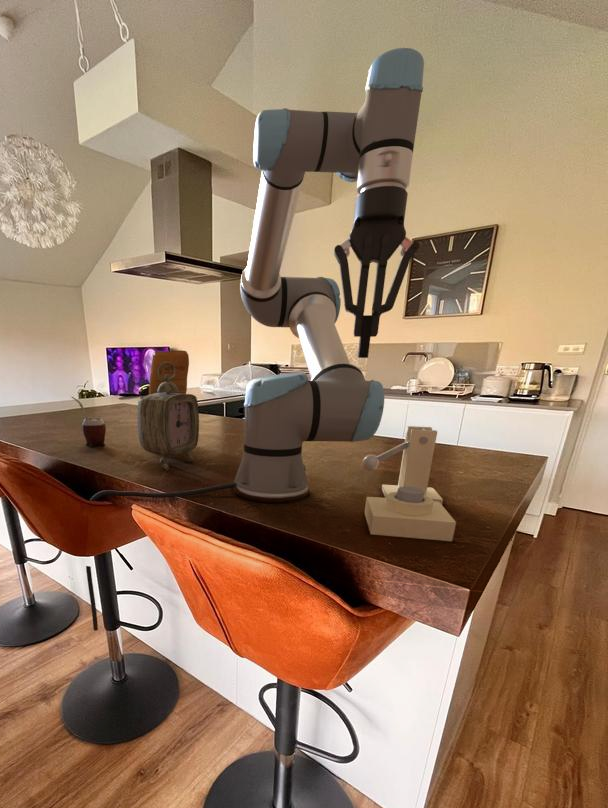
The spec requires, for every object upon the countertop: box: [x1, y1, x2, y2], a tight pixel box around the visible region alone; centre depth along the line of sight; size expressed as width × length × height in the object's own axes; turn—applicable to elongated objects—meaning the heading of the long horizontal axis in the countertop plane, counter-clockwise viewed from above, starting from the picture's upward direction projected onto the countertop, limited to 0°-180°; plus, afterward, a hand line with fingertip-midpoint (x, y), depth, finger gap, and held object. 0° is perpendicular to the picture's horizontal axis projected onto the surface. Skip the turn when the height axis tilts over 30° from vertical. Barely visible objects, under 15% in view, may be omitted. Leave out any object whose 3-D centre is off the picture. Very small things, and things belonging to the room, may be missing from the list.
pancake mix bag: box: [148, 349, 190, 395], centre depth 125 cm, size 7×19×28 cm, turn 148°
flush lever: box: [362, 428, 426, 471], centre depth 83 cm, size 13×3×3 cm
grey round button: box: [396, 487, 424, 503], centre depth 68 cm, size 4×4×2 cm
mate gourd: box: [71, 396, 107, 448], centre depth 129 cm, size 8×8×15 cm
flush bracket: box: [381, 425, 444, 506], centre depth 83 cm, size 10×8×14 cm
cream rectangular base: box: [364, 492, 457, 542], centre depth 69 cm, size 12×10×5 cm
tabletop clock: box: [136, 362, 200, 471], centre depth 104 cm, size 14×9×25 cm, turn 150°
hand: (362, 357), depth 72 cm, fingers closed
